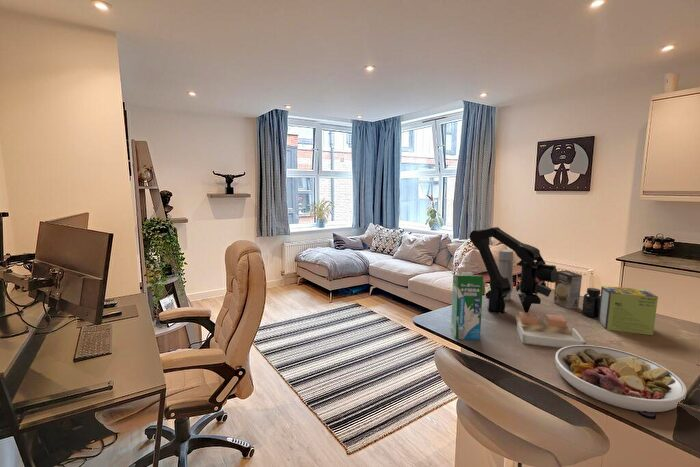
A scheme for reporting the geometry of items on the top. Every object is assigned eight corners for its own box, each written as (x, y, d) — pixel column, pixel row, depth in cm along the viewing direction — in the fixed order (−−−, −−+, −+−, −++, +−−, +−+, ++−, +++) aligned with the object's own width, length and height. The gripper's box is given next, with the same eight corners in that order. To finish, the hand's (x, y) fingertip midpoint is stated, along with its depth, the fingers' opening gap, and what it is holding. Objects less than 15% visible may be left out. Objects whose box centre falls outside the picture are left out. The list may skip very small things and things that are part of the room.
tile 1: (521, 322, 139) (521, 317, 139) (518, 317, 145) (519, 311, 144) (537, 324, 137) (538, 318, 137) (534, 318, 143) (535, 313, 142)
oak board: (519, 330, 137) (519, 325, 136) (515, 320, 146) (515, 316, 146) (571, 335, 131) (571, 331, 131) (563, 325, 141) (563, 321, 141)
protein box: (653, 335, 131) (659, 296, 129) (606, 330, 136) (610, 292, 134) (641, 324, 141) (645, 288, 139) (597, 320, 146) (600, 285, 144)
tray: (522, 343, 126) (522, 335, 125) (516, 329, 137) (517, 322, 137) (585, 350, 120) (585, 342, 119) (574, 336, 131) (574, 328, 131)
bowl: (562, 349, 121) (564, 328, 120) (678, 379, 103) (681, 355, 101) (545, 389, 99) (548, 363, 97) (691, 437, 80) (696, 406, 79)
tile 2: (549, 325, 136) (549, 319, 136) (545, 320, 142) (545, 314, 141) (566, 327, 134) (566, 321, 134) (561, 321, 140) (562, 315, 140)
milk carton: (473, 329, 137) (476, 269, 134) (480, 340, 129) (483, 275, 125) (450, 329, 138) (453, 269, 135) (455, 339, 129) (458, 275, 126)
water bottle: (491, 297, 176) (494, 249, 172) (504, 295, 178) (507, 248, 175) (504, 303, 167) (507, 253, 164) (517, 301, 170) (521, 252, 166)
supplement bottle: (604, 318, 148) (607, 291, 146) (588, 318, 148) (591, 291, 146) (593, 312, 155) (596, 286, 153) (578, 312, 155) (580, 286, 153)
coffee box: (552, 302, 168) (555, 270, 165) (563, 301, 169) (566, 270, 167) (568, 309, 159) (571, 275, 156) (579, 308, 160) (582, 274, 158)
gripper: (556, 285, 132) (553, 323, 134) (544, 272, 150) (541, 306, 152) (524, 282, 135) (522, 320, 138) (516, 271, 153) (514, 304, 155)
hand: (526, 312), depth 146 cm, fingers closed
